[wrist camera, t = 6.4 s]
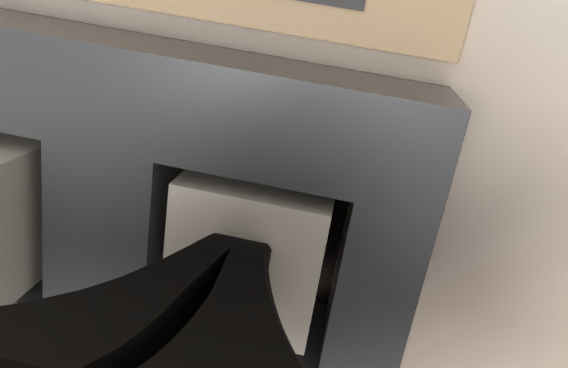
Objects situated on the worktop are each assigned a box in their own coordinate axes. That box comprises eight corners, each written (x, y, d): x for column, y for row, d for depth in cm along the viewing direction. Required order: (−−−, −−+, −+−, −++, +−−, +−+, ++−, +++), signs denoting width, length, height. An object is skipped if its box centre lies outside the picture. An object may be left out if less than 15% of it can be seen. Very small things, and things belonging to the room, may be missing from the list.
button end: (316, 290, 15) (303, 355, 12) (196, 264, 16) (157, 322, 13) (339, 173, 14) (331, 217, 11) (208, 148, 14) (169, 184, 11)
